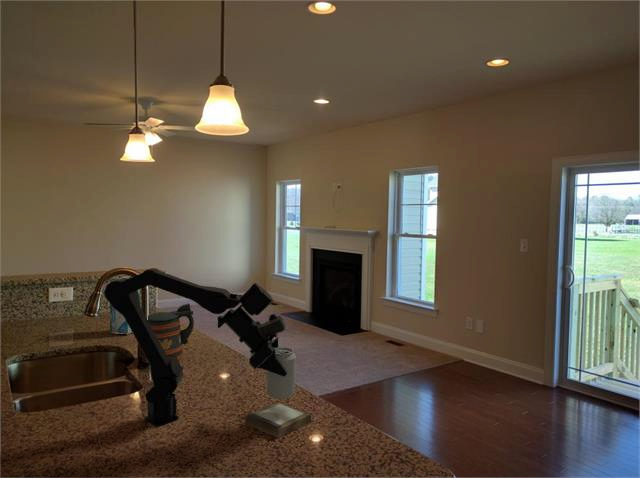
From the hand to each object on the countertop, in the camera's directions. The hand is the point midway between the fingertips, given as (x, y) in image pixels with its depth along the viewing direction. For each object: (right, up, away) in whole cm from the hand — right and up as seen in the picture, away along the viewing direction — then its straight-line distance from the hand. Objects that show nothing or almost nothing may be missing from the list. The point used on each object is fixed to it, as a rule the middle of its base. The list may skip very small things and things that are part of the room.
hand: (286, 370), depth 122 cm
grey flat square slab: (-2, -13, -2) cm, 13 cm away
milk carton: (-79, -8, +87) cm, 118 cm away
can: (-2, -7, 0) cm, 7 cm away
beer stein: (-48, -10, +51) cm, 71 cm away
